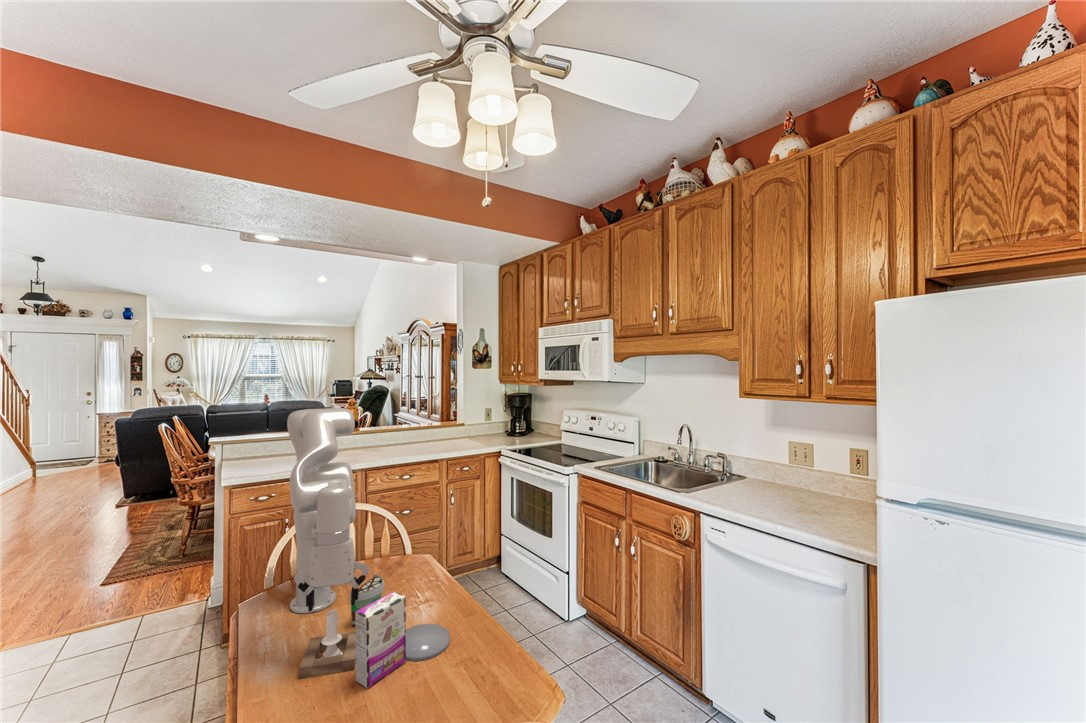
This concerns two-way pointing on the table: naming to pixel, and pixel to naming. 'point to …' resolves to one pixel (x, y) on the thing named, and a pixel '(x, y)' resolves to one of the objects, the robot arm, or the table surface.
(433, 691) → the table surface
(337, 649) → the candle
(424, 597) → the table surface
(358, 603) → the food container
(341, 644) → the walnut socket
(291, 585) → the table surface
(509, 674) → the table surface
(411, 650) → the slate plate
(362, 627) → the candy bar box
